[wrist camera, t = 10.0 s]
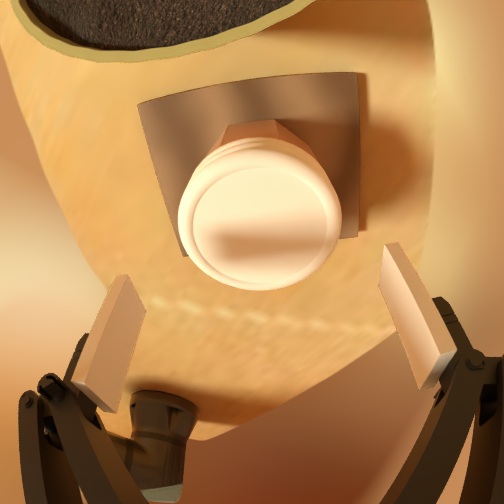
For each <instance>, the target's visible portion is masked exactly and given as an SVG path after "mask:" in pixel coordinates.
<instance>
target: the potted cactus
mask: <svg viewBox="0 0 504 504" xmlns="http://www.w3.org/2000/svg"><path fill="white" fill-rule="evenodd" d="M314 1H316V0H10V2H11V6H12V9H13V12H14V14H15V16H16V17H17V19H18V20H19V22H20V23H21V25H22V26H23V28H24V29H25V30H26V31H27V32H28V33H29V34H30V35H31V36H32V37H34V38H35V39H36V40H37V41H39V42H40V43H41V44H42V45H44V46H46V47H48V48H50V49H52V50H55V51H57V52H59V53H61V54H63V55H66V56H69V57H73V58H79V59H84V60H88V61H93V62H117V63H137V62H144V61H151V60H162V59H170V58H176V57H180V56H183V55H187V54H191V53H195V52H200V51H205V50H209V49H213V48H216V47H219V46H222V45H225V44H227V43H230V42H232V41H235V40H238V39H241V38H244V37H247V36H250V35H253V34H256V33H258V32H260V31H262V30H264V29H266V28H268V27H270V26H272V25H274V24H276V23H278V22H280V21H282V20H284V19H287V18H289V17H291V16H293V15H295V14H296V13H298V12H300V11H301V10H302V9H304V8H305V7H307V6H308V5H309V4H311V3H312V2H314Z"/></svg>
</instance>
